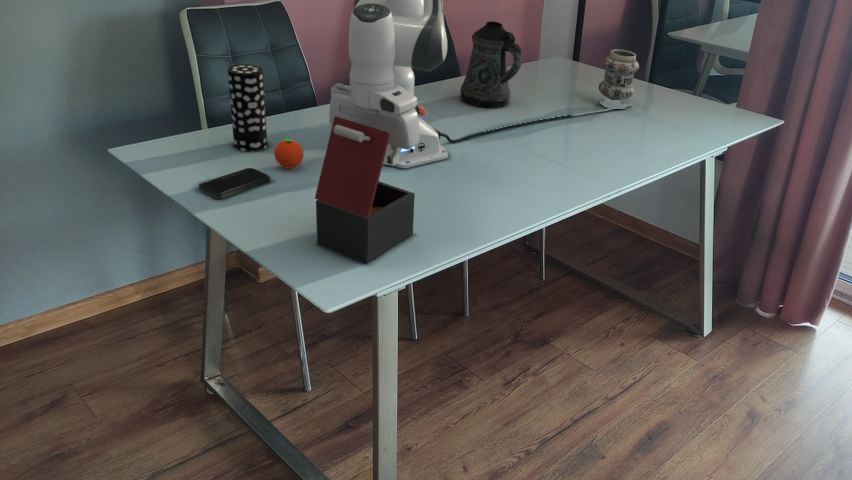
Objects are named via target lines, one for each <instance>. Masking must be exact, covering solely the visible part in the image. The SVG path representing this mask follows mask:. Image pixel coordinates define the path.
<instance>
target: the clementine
mask: <svg viewBox="0 0 852 480" xmlns="http://www.w3.org/2000/svg"><path fill="white" fill-rule="evenodd" d="M274 159H275V161H276V162H277V164H278V165H279V166H281V167H283V168H285V169H294V168H297V167H298V166H299V165H300V164H301V163H302V162H303V160H304V149H303V148H302V146H301V144H300V143H298V142H297V141H295V140H293V139H291V138H284V140H282V141H279V142H278V144H276V147H275V149H274Z"/></svg>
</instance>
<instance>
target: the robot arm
mask: <svg viewBox="0 0 852 480" xmlns="http://www.w3.org/2000/svg"><path fill="white" fill-rule="evenodd" d="M447 54H448V37H447V31H446V25H445V1H444V0H359V1H358V2H357V3H356V5H355V6H354V8H353V9H352V11H351V14H350V19H349V29H348V57H349V60H350V66H351V67H350V71H349V85H346V84H343V83H341V82H337V83H335V84H333V85H332V86H331V88H330V103H329V116H328V117H329V119H328V122H329V124H330V125H331V126H332V125H333V121H334V117H335V116H336V117H340V118H343V119H346V120H350V121H353V122H356V123H359V124H362V125H366V126H369V127H372V128H375V129H379V130H382V131H385V132H388V133H391V135H390V138H389V142H388V146H387V150H386V154H385V158H384V162H383V165H384V166H392V167H395V168H400V169H410V168H414V167H419V166H422V165H426V164H431V163H434V162H438V161H443V160H448V157H449V155H448V154H449V153H448V150H447V149H446V148H445V147H444V145H442V144H441V137H443V138H445V139H446V140H447V142H448V143H450V144H456V143H461V142H463V141H465V140H468V139H472V138H475V137H479V136H480V137H481V136H483V135H487V134H492V133H495V132H500V131H504V130H509V129H513V128H517V127H522V126H523V127H524V126H528V125H533V124H538V123H543V122H549V121H555V120H561V119H562V120H563V119H568V118H572V117H571V115H569V114H566V115H567V116H563V115H560V116H561V117H557V116H554V117H555V118H550V117H548V118H549V119H544V118H542V119H543V120H539V119H536V120H537V121H533V120H531V121H532V122H528V121H526V122H527V123H523V122H521V123H522V124H518V123H516V124H517V125H513V124H511V125H512V126H508V125H506V126H507V127H504V126H502V127H503V128H499V127H498V128H499V129H495V128H493V129H494V130H491V129H488V130H490V131H488V130H487V129H486V130H483V131H479V132H475V133H472V134H471V133H470V134H467V135H465V136H463V137H460V138H456V139H452V138H450V136H449V135H448V134H447V133H444V132H441V131H440V130H438V129H436V128H434V127H432V126H431V125H430V124H428V122H426V121H425V120H424V119H422V118H421V117H425V116H426V115H427V114H428V112H427V109H426V108H425V107H423V106H420V105H418V98H417V96H416V95H415V81H416V79H415V78H416V77H415V73H414V70H418V71H424V72H428V73H431V72H432V71H434V70H436V69H437V68H440V66H441V65H442V64H443V63H445V61H446V58H447ZM413 69H414V70H413ZM420 116H421V117H420ZM572 116H573V115H572ZM484 131H486V132H484Z"/></svg>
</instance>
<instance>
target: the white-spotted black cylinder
mask: <svg viewBox="0 0 852 480" xmlns="http://www.w3.org/2000/svg"><path fill="white" fill-rule="evenodd" d="M227 78H228V91H229V102H230V113H231V115H230V116H231V126H232V136H233V147H234V148H235V149H236V150H239V151H243V152H258V151H259V152H260V151H262V150H264V149H266V148H268V132H267V131H268V129H267V120H266V119H267V118H266V117H267V115H266V101H265V83H264V69H263V67H261V66H259V65H255V64H246V63H245V64H244V63H243V64H234V65H229V66H228V67H227Z"/></svg>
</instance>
